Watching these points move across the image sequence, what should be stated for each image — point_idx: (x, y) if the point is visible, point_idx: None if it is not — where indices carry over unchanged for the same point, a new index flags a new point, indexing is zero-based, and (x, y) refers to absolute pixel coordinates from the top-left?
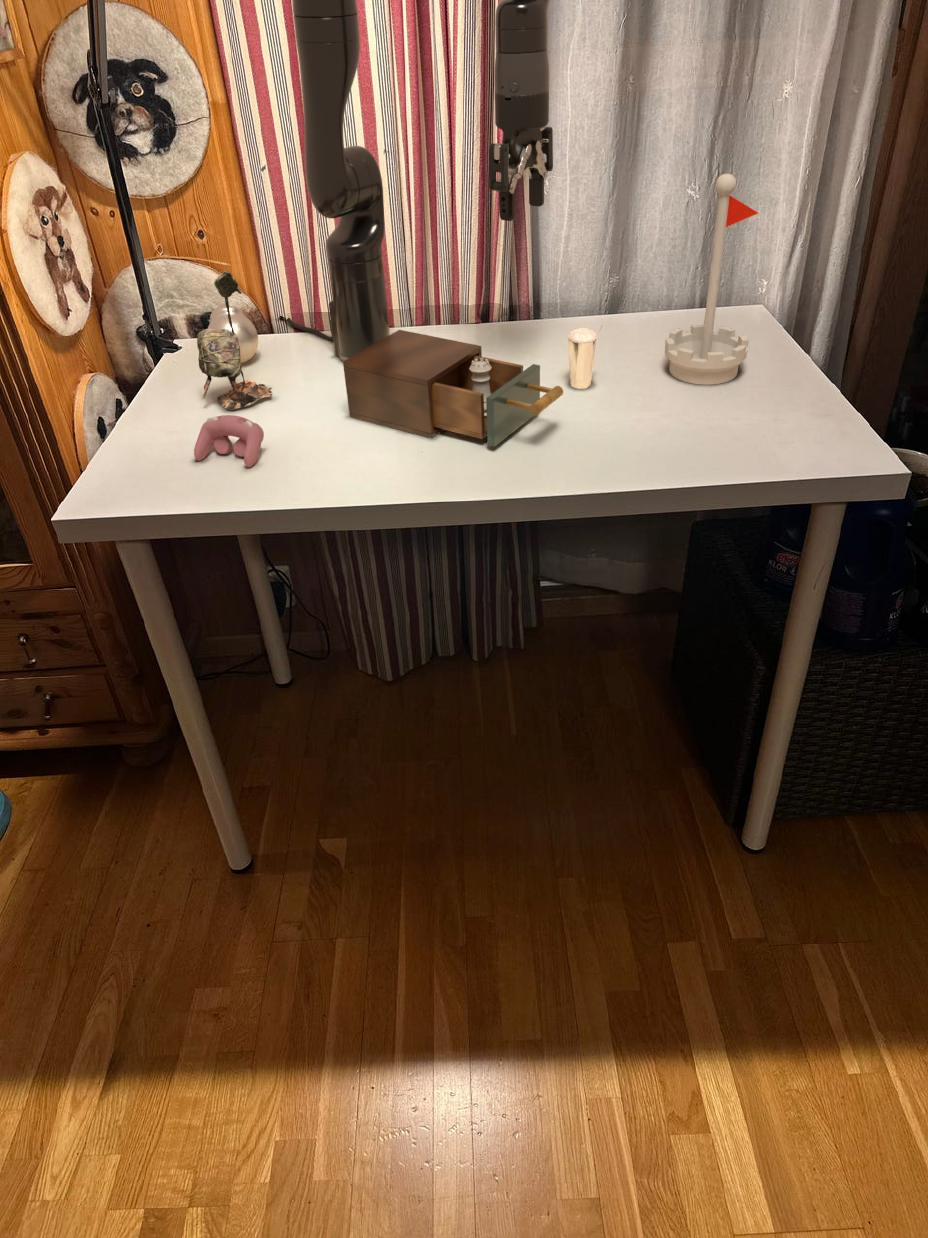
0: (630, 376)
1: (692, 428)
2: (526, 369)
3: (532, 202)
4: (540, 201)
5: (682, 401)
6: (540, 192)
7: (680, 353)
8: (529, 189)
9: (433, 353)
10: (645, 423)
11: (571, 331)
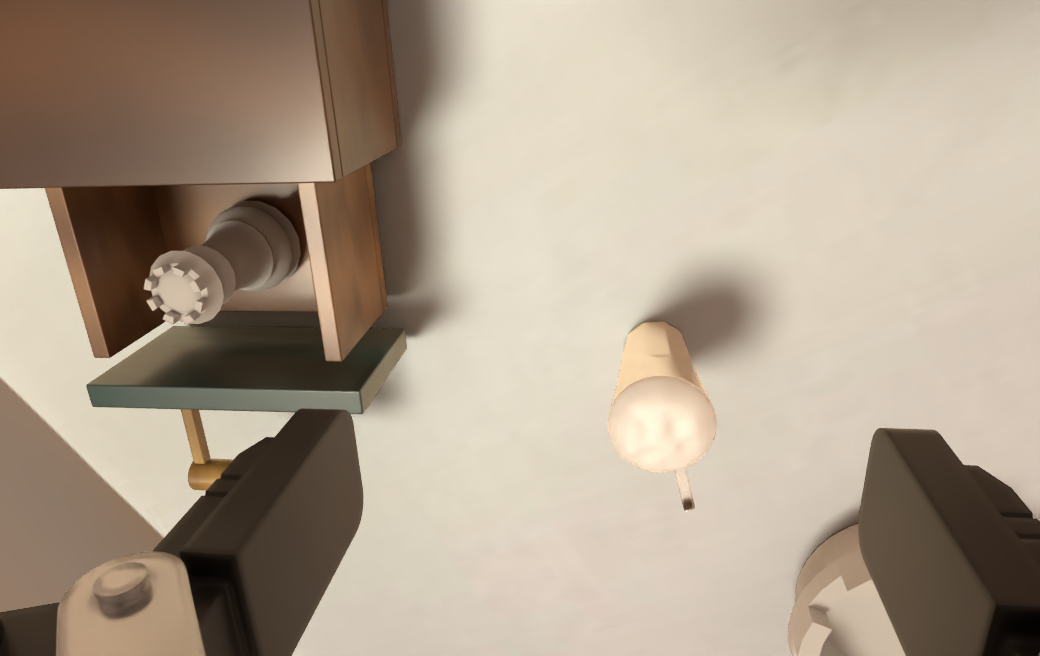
0: (777, 445)
1: (547, 649)
2: (310, 393)
3: (874, 470)
4: (866, 562)
5: (675, 599)
6: (901, 625)
7: (806, 623)
8: (934, 515)
9: (164, 50)
10: (517, 566)
11: (651, 398)
